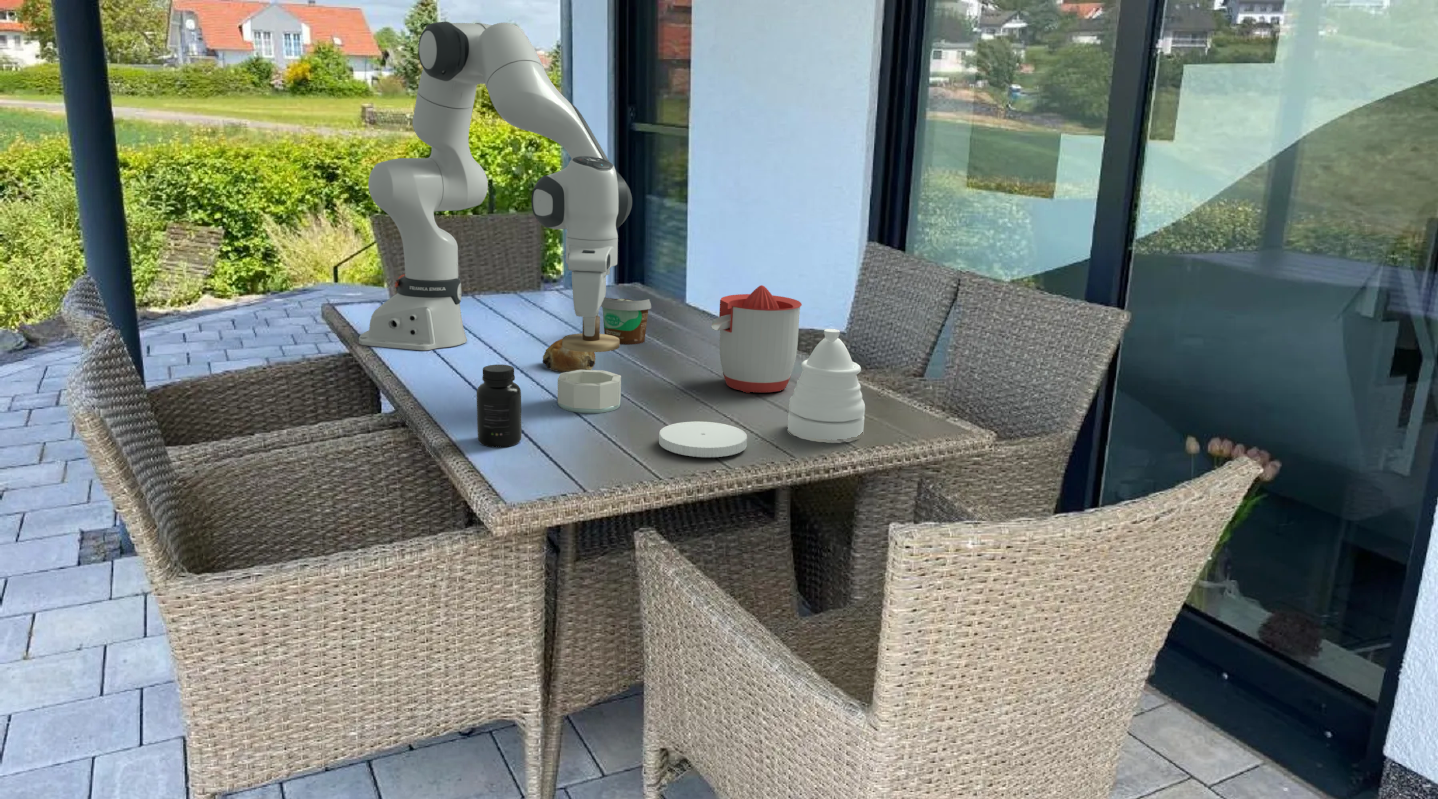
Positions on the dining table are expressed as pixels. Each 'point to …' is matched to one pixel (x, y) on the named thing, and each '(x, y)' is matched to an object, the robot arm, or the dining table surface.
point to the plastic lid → (703, 439)
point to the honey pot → (827, 393)
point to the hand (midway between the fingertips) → (590, 332)
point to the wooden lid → (591, 341)
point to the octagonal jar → (589, 391)
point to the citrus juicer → (758, 340)
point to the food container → (626, 319)
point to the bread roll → (567, 358)
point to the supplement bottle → (499, 407)
